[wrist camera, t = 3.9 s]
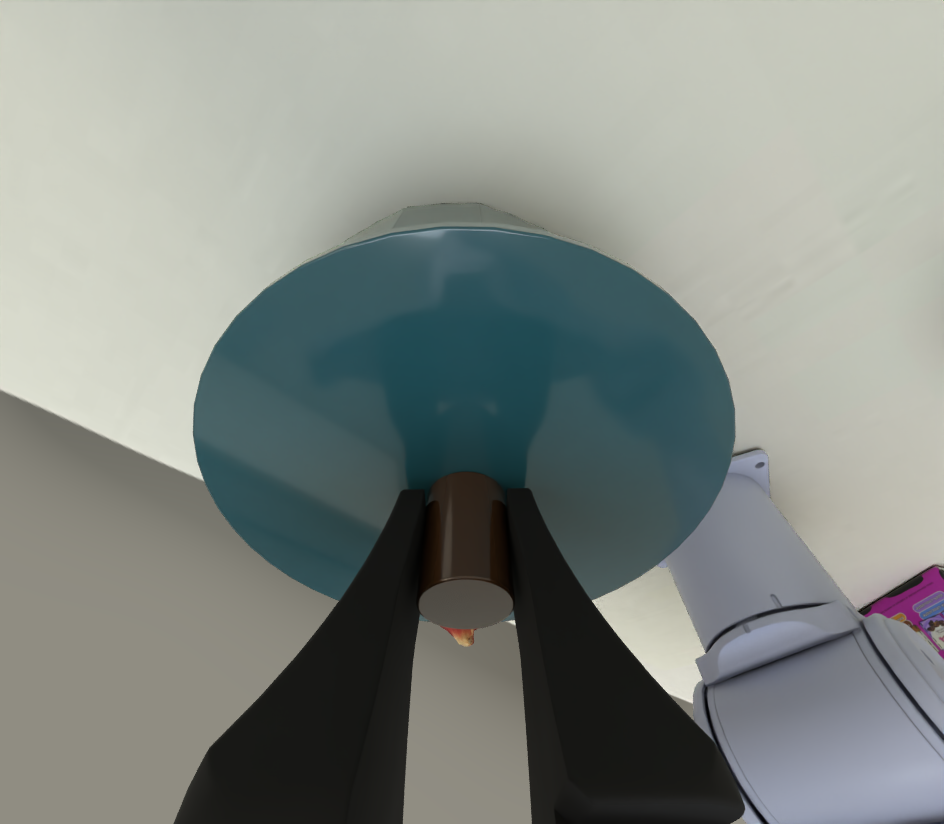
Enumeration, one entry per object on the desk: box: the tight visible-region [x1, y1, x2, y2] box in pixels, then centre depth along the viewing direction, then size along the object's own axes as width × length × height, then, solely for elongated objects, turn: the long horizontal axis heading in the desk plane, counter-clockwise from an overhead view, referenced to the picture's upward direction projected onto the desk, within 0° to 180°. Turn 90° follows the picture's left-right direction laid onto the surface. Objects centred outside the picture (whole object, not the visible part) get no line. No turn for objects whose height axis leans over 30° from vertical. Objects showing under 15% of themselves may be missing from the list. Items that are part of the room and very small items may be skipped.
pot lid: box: [193, 222, 735, 629], centre depth 12 cm, size 16×16×4 cm
